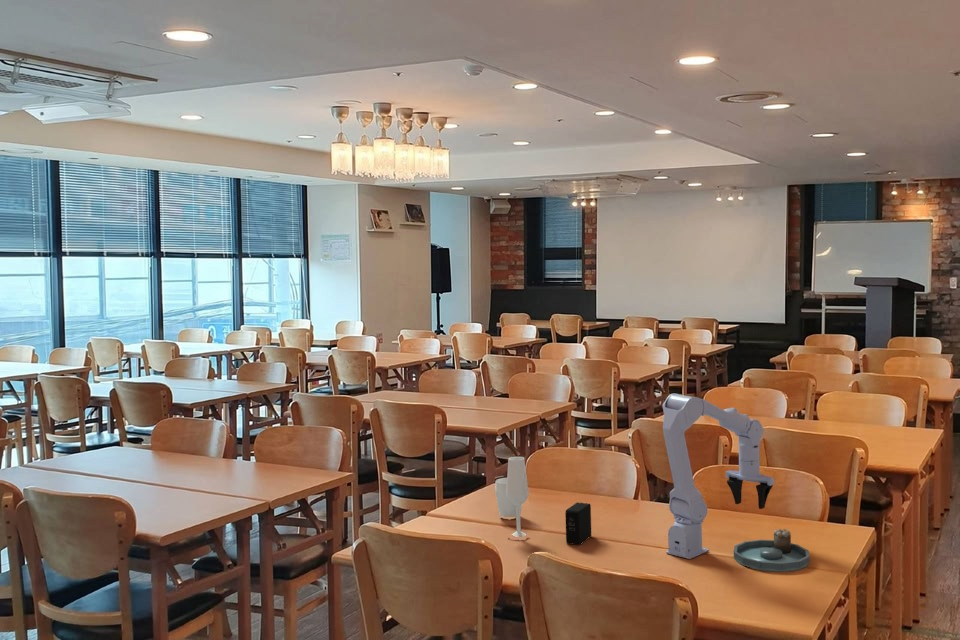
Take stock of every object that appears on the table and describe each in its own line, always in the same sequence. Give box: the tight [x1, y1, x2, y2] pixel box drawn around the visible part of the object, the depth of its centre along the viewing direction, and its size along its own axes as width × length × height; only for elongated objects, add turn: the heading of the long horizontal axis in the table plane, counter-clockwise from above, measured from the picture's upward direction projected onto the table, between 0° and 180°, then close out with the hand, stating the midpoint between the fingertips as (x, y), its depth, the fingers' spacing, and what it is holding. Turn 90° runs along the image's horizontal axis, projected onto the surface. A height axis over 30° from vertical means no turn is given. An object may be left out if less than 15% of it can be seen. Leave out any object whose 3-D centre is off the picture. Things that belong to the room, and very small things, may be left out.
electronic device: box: [564, 502, 592, 546], centre depth 265 cm, size 4×10×10 cm, turn 152°
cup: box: [494, 477, 523, 517], centre depth 291 cm, size 9×9×12 cm
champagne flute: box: [506, 456, 530, 537], centre depth 269 cm, size 7×7×24 cm
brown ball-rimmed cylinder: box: [773, 528, 792, 554], centre depth 247 cm, size 4×4×6 cm
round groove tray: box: [733, 539, 810, 573], centre depth 243 cm, size 19×19×2 cm
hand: (749, 505), depth 261 cm, fingers open, 7 cm apart
